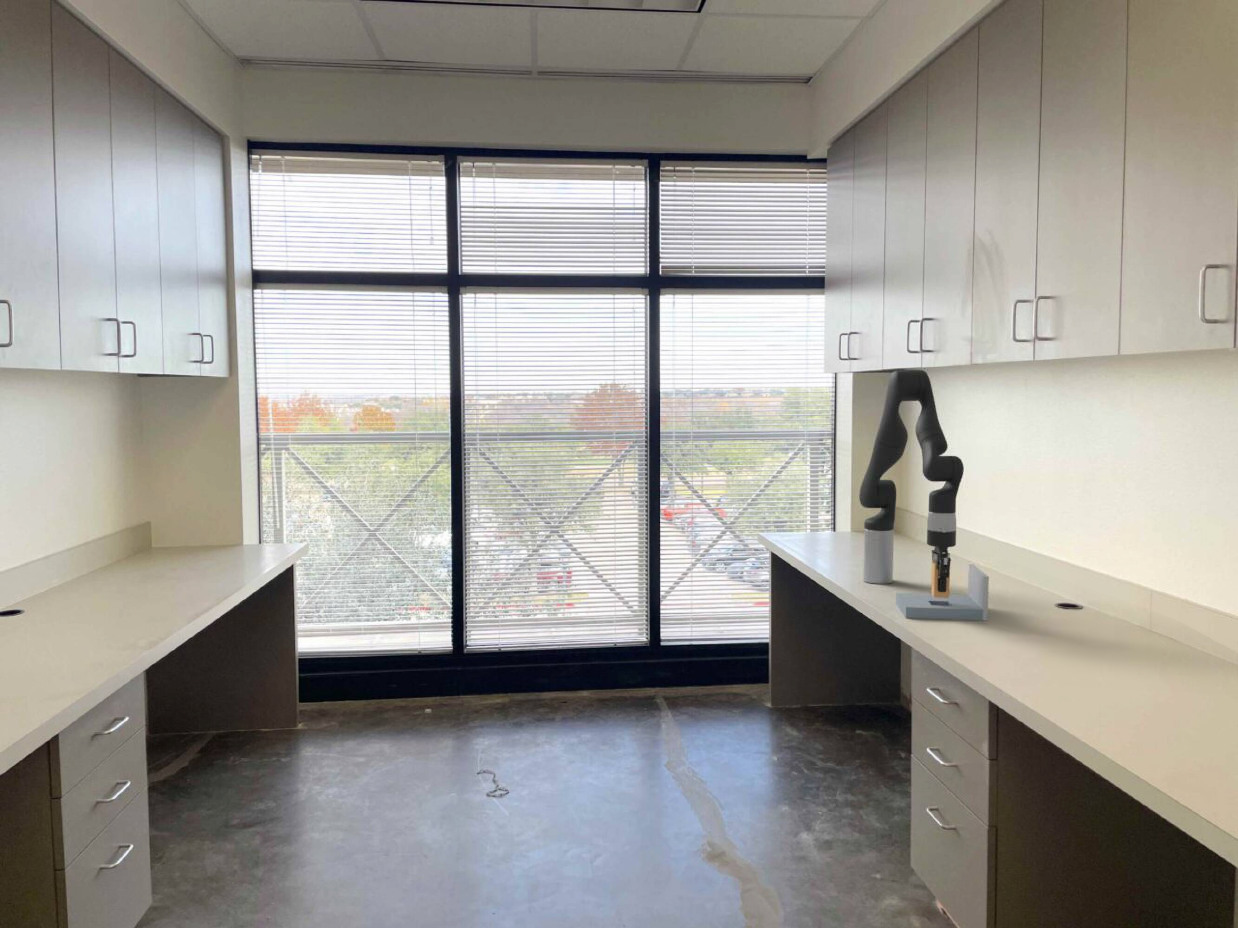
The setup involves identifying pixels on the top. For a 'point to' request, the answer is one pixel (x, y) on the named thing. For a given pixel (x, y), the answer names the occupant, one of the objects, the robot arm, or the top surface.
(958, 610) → the grey slotted stand
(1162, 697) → the top surface
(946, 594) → the block
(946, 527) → the robot arm
